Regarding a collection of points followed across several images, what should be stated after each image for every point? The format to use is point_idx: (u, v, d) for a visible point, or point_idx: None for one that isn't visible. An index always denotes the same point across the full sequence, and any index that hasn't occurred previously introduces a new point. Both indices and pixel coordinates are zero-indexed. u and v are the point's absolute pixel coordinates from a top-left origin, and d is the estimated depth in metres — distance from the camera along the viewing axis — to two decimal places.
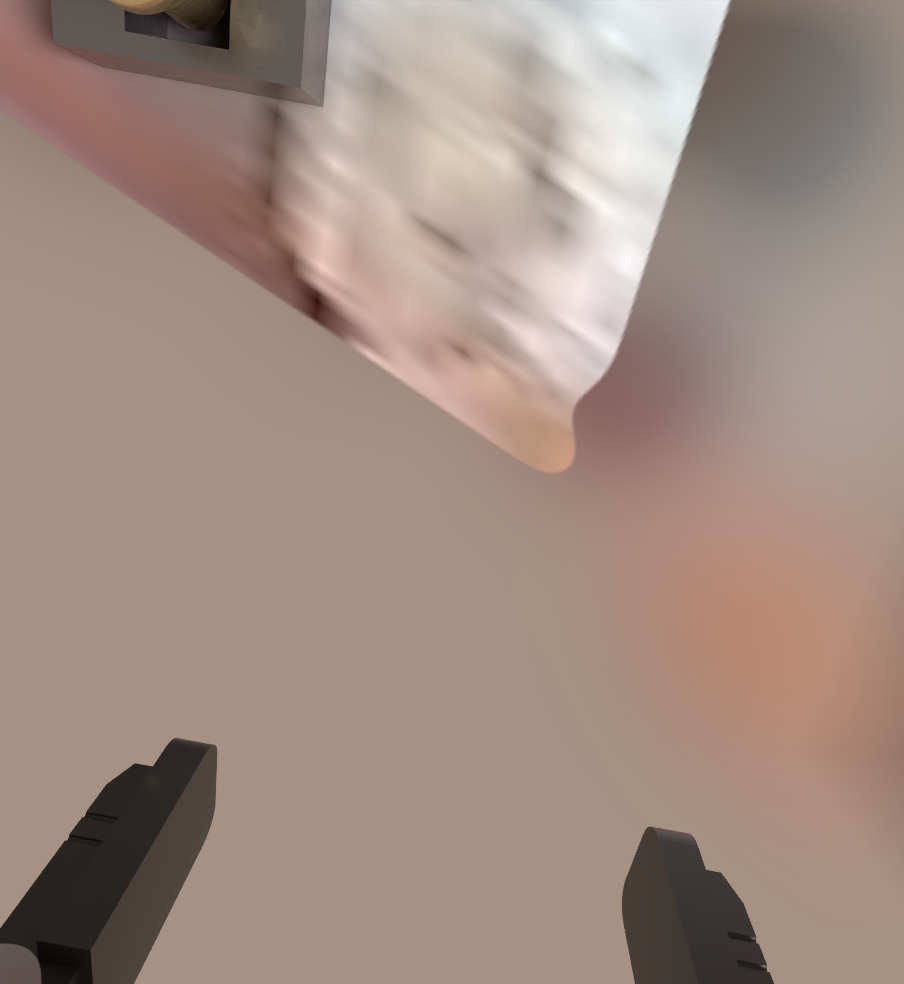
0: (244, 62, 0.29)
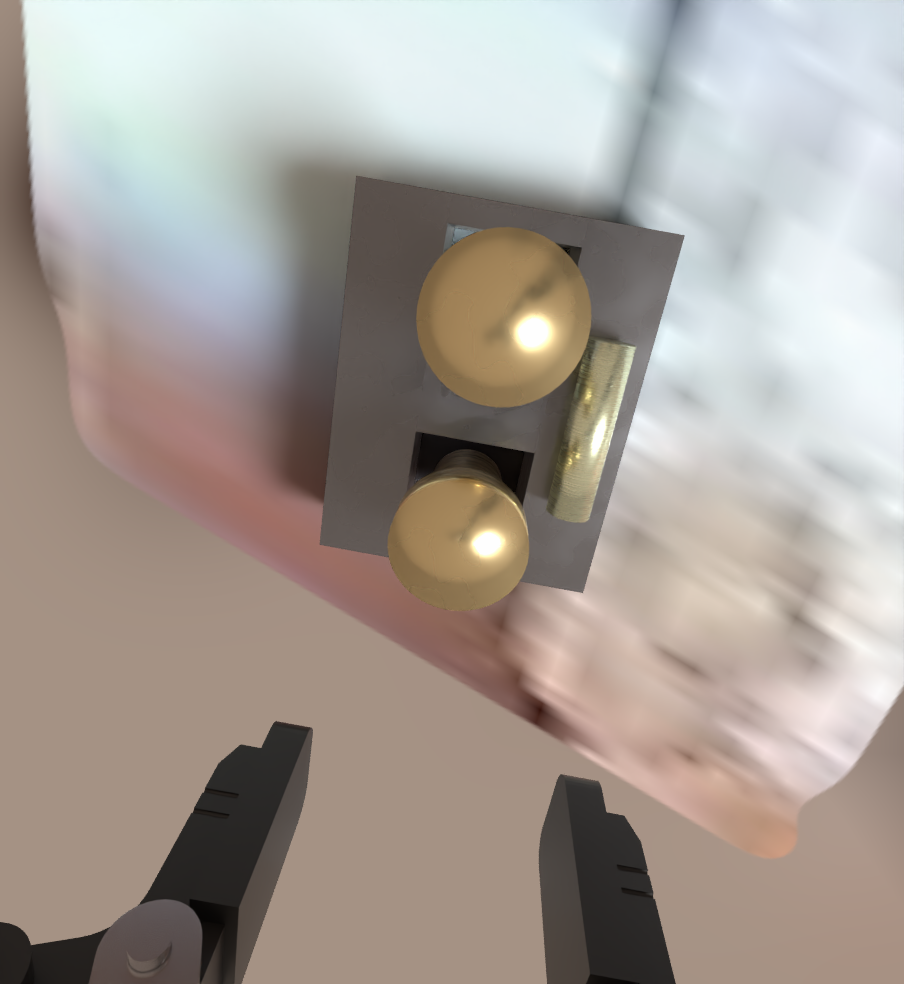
0: (525, 569, 0.27)
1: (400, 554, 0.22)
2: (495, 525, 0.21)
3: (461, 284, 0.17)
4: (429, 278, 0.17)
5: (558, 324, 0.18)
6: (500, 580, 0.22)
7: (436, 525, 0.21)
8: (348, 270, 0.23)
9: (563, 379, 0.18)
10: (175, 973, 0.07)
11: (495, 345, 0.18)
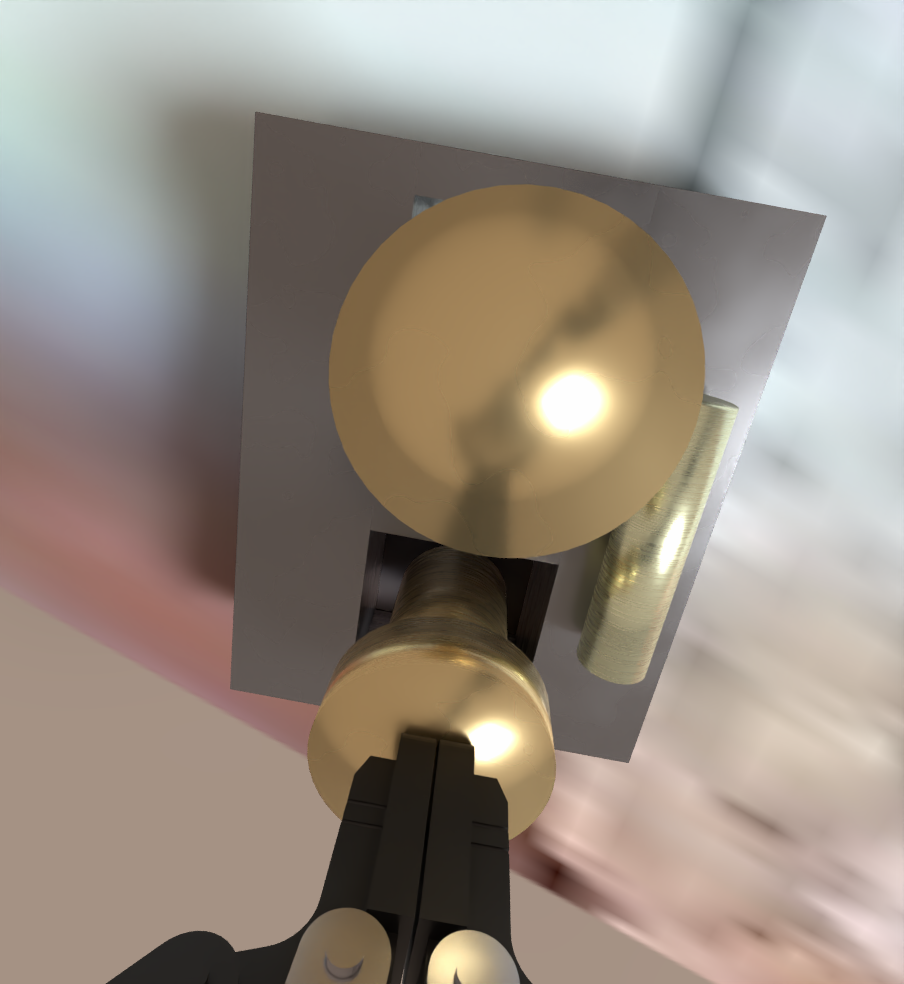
0: None
1: (330, 771, 0.13)
2: (496, 732, 0.12)
3: (422, 312, 0.08)
4: (352, 299, 0.08)
5: (631, 398, 0.08)
6: None
7: (391, 729, 0.12)
8: (251, 275, 0.14)
9: (637, 507, 0.09)
10: (374, 981, 0.08)
11: (496, 439, 0.09)
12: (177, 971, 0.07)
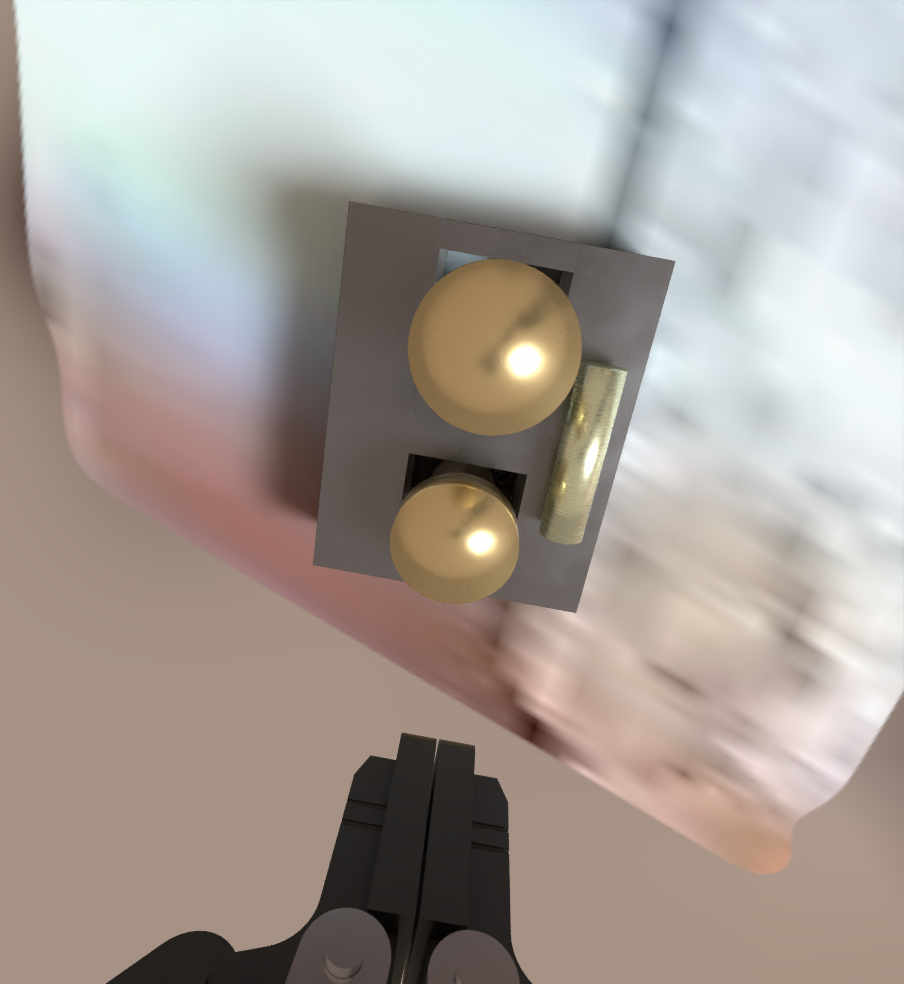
0: (518, 590, 0.27)
1: (401, 552, 0.24)
2: (488, 525, 0.23)
3: (452, 315, 0.17)
4: (420, 309, 0.17)
5: (549, 354, 0.18)
6: (493, 575, 0.24)
7: (434, 525, 0.23)
8: (341, 294, 0.23)
9: (554, 408, 0.18)
10: (374, 981, 0.08)
11: (486, 374, 0.18)
12: (177, 971, 0.07)
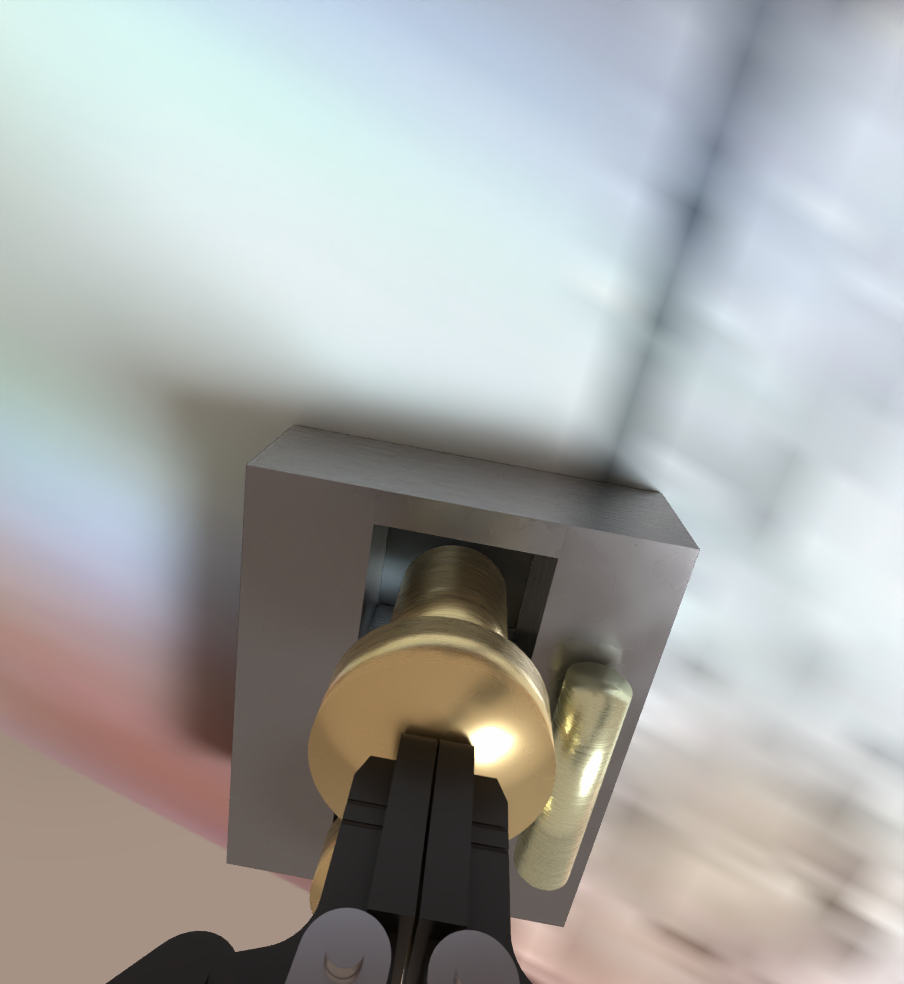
0: None
1: None
2: None
3: (369, 723, 0.12)
4: (323, 714, 0.12)
5: (509, 773, 0.12)
6: None
7: None
8: (243, 572, 0.17)
9: (518, 832, 0.13)
10: (374, 982, 0.08)
11: None
12: (177, 971, 0.07)
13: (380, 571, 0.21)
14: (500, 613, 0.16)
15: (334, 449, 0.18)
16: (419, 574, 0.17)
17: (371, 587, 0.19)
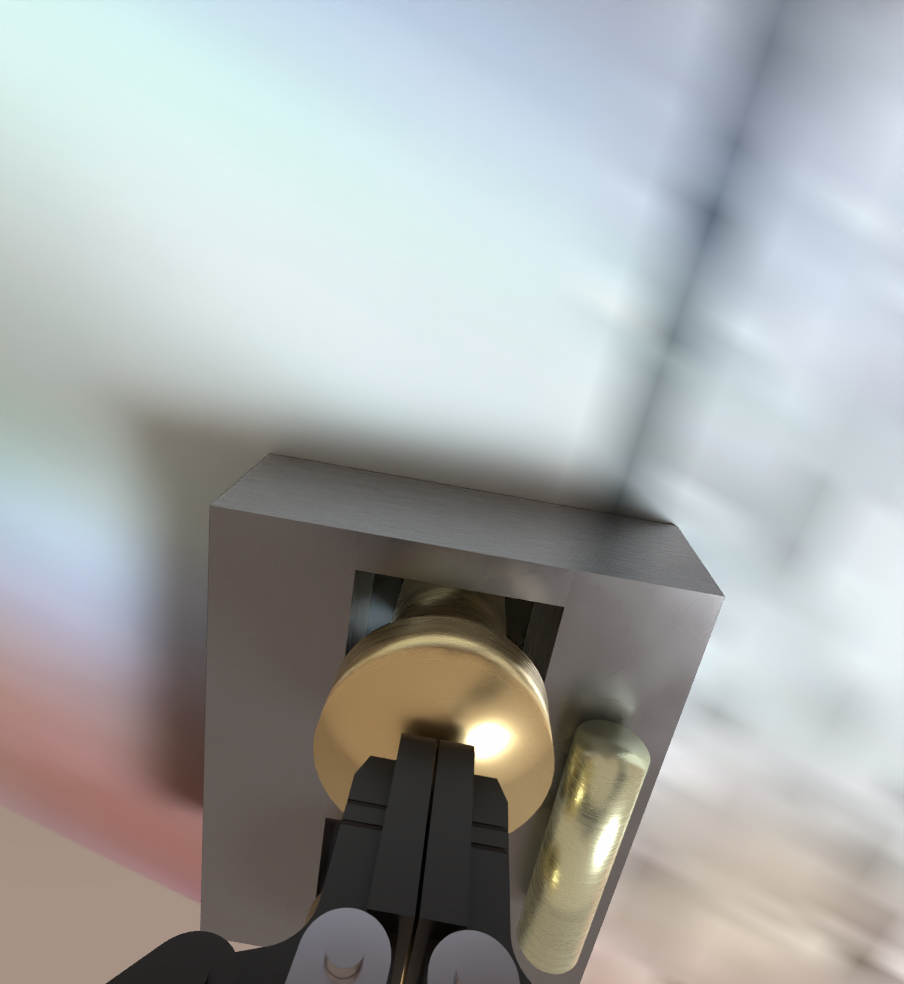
0: None
1: None
2: None
3: (372, 720, 0.12)
4: (328, 711, 0.12)
5: (509, 767, 0.13)
6: None
7: None
8: (209, 623, 0.15)
9: (518, 825, 0.13)
10: (374, 982, 0.08)
11: None
12: (177, 971, 0.07)
13: (367, 612, 0.19)
14: (499, 613, 0.17)
15: (313, 482, 0.16)
16: None
17: (355, 634, 0.17)
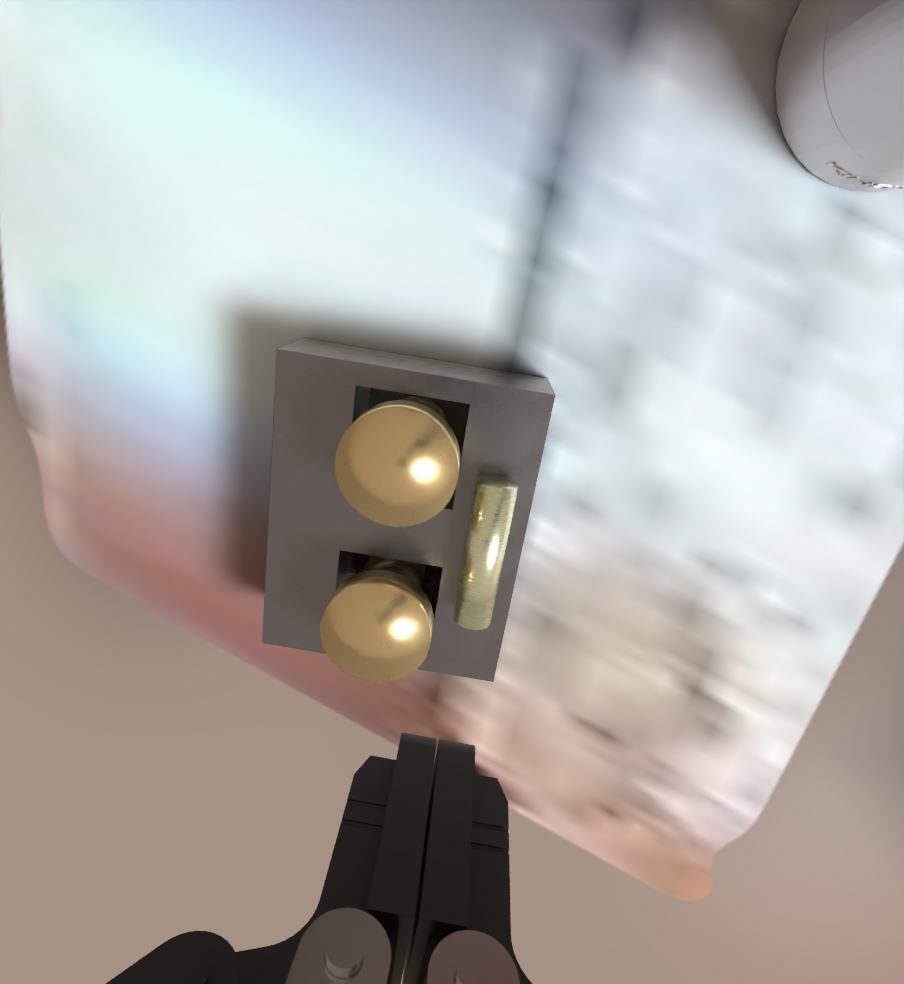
0: (441, 662, 0.31)
1: (330, 640, 0.28)
2: (402, 618, 0.27)
3: (365, 445, 0.25)
4: (342, 441, 0.25)
5: (435, 471, 0.25)
6: (409, 659, 0.28)
7: (357, 618, 0.27)
8: (274, 422, 0.27)
9: (442, 507, 0.25)
10: (374, 982, 0.08)
11: (392, 485, 0.25)
12: (177, 971, 0.07)
13: None
14: None
15: (331, 347, 0.28)
16: None
17: None
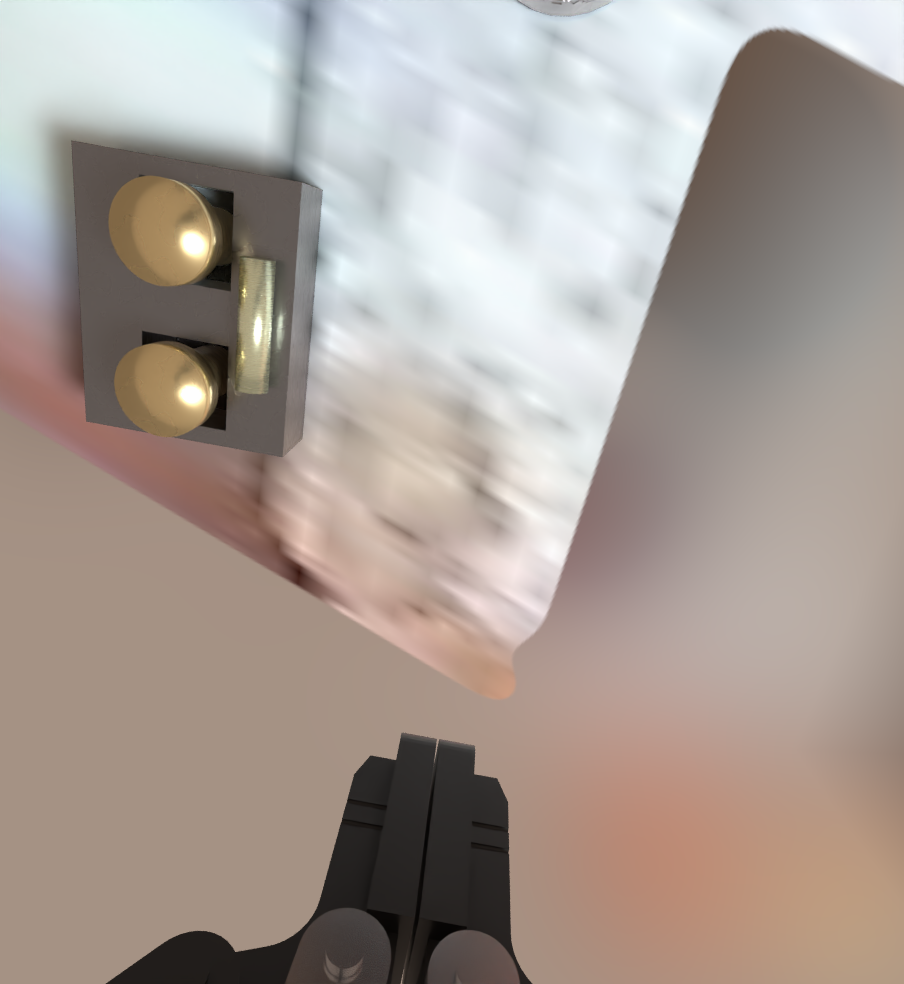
0: (237, 439, 0.37)
1: (124, 396, 0.33)
2: (180, 374, 0.33)
3: (131, 210, 0.30)
4: (112, 206, 0.30)
5: (190, 234, 0.30)
6: (190, 414, 0.33)
7: (143, 375, 0.33)
8: (76, 209, 0.33)
9: (199, 268, 0.31)
10: (373, 982, 0.08)
11: (157, 247, 0.30)
12: (177, 971, 0.07)
13: None
14: (222, 219, 0.34)
15: None
16: None
17: None
